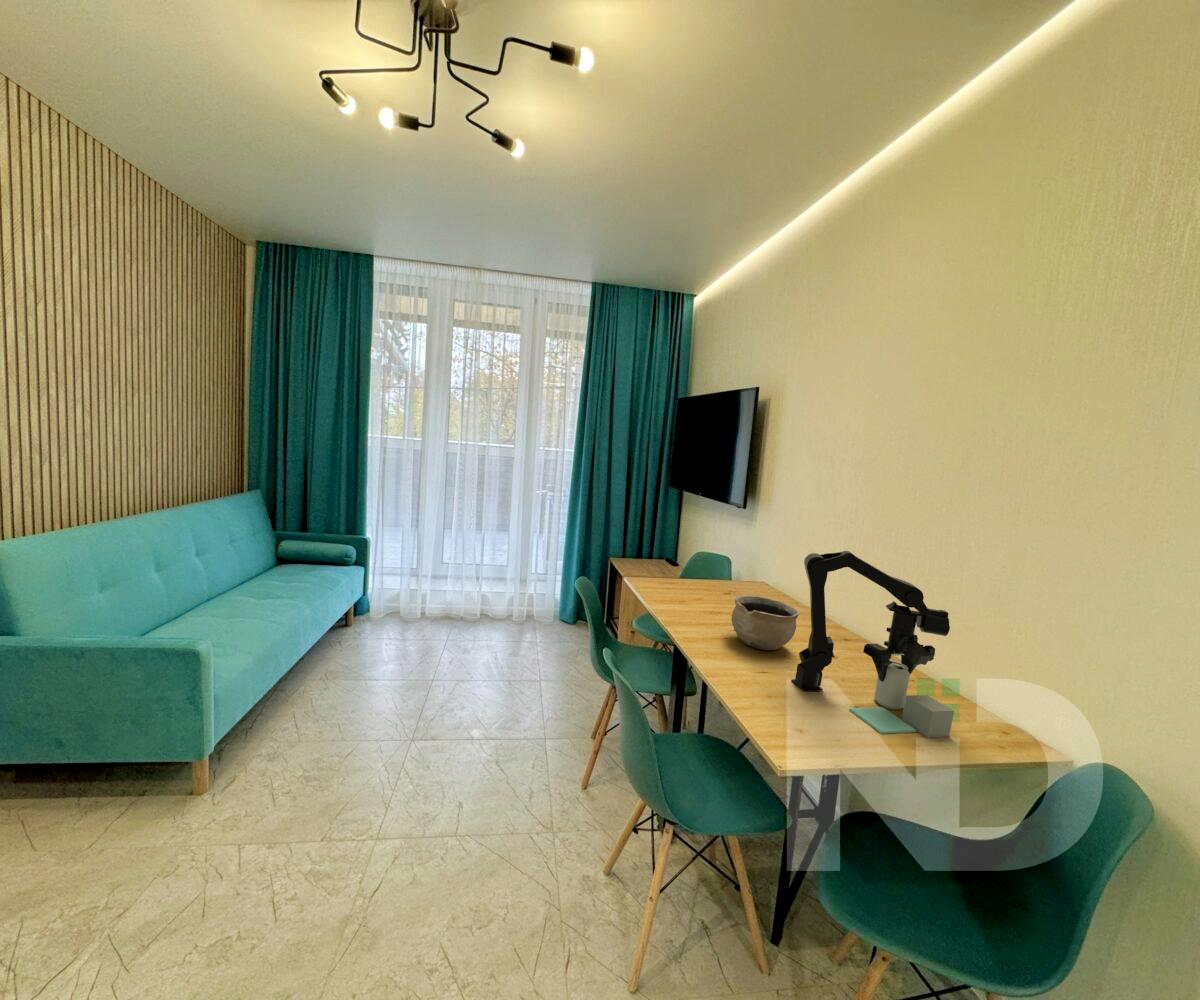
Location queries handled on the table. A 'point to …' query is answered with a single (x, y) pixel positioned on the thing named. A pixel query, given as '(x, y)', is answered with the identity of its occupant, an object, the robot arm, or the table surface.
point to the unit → (927, 716)
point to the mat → (882, 720)
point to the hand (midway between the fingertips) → (892, 680)
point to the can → (893, 686)
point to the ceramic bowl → (763, 622)
